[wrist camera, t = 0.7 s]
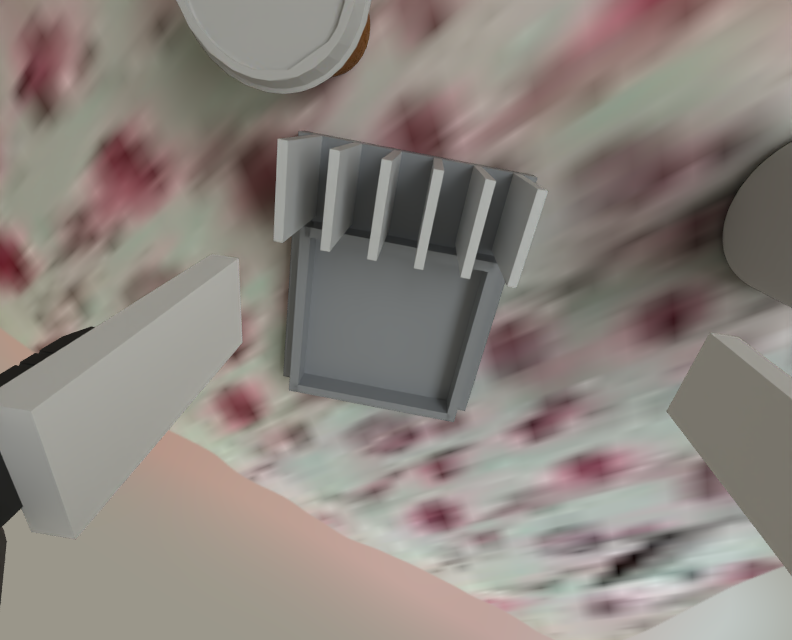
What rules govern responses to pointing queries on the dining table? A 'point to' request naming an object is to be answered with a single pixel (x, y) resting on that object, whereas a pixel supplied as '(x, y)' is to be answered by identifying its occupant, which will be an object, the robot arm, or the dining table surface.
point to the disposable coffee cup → (281, 39)
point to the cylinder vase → (763, 228)
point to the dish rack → (395, 269)
